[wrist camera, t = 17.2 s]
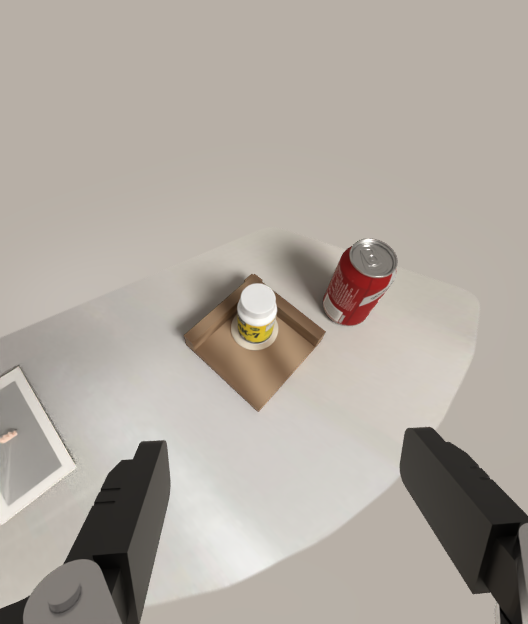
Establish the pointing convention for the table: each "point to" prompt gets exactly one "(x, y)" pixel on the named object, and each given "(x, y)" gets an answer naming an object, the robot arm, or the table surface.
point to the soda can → (359, 281)
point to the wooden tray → (254, 347)
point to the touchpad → (26, 447)
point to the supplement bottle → (256, 313)
